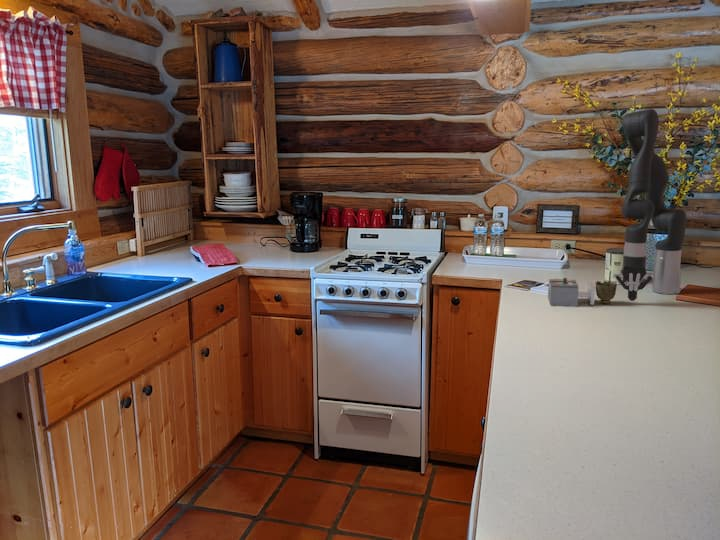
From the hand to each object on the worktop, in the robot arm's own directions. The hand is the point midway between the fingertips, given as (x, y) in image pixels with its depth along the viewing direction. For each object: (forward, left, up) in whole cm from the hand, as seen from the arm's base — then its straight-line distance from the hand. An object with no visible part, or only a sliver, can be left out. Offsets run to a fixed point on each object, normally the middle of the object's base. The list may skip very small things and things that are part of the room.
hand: (631, 300), depth 216 cm
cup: (+9, 0, -2) cm, 9 cm away
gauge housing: (+24, 0, -2) cm, 24 cm away
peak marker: (+24, +2, +7) cm, 25 cm away
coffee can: (-2, -39, -2) cm, 39 cm away
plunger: (+19, 0, -1) cm, 19 cm away
